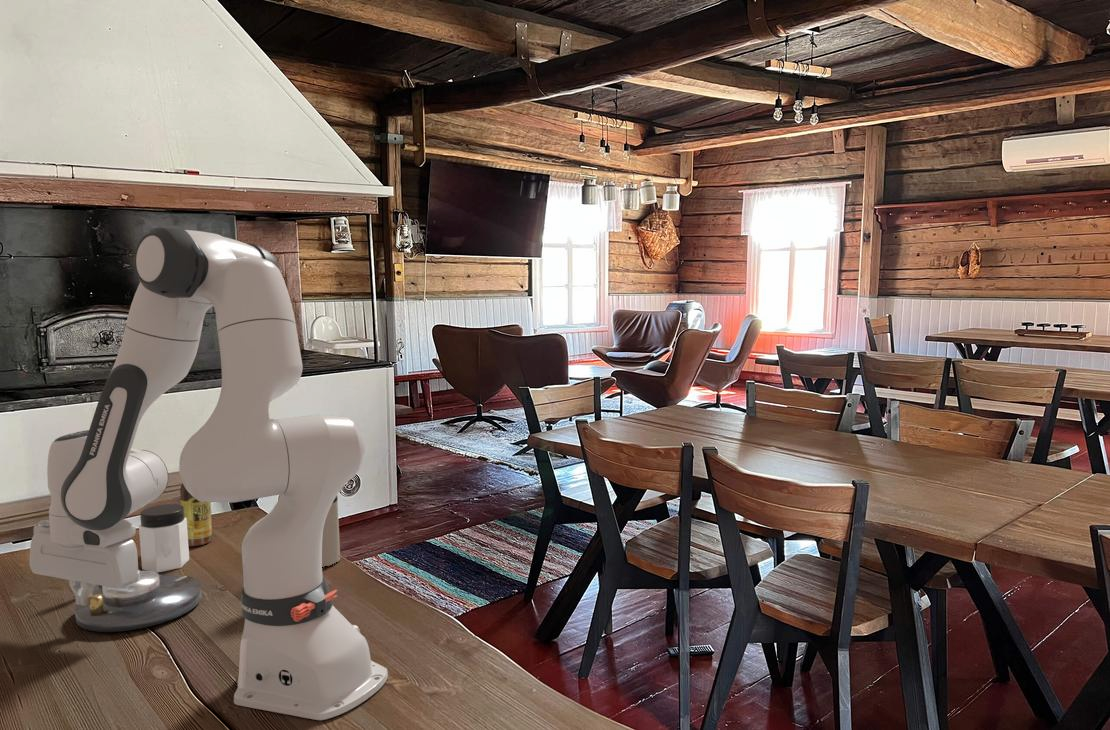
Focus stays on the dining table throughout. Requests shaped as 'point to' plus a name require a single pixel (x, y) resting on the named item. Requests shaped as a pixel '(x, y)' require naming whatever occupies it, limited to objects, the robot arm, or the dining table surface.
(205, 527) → the sauce bottle
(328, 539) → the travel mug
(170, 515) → the jar
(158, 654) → the dining table surface
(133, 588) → the cover
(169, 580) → the turntable
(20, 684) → the dining table surface
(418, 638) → the dining table surface
